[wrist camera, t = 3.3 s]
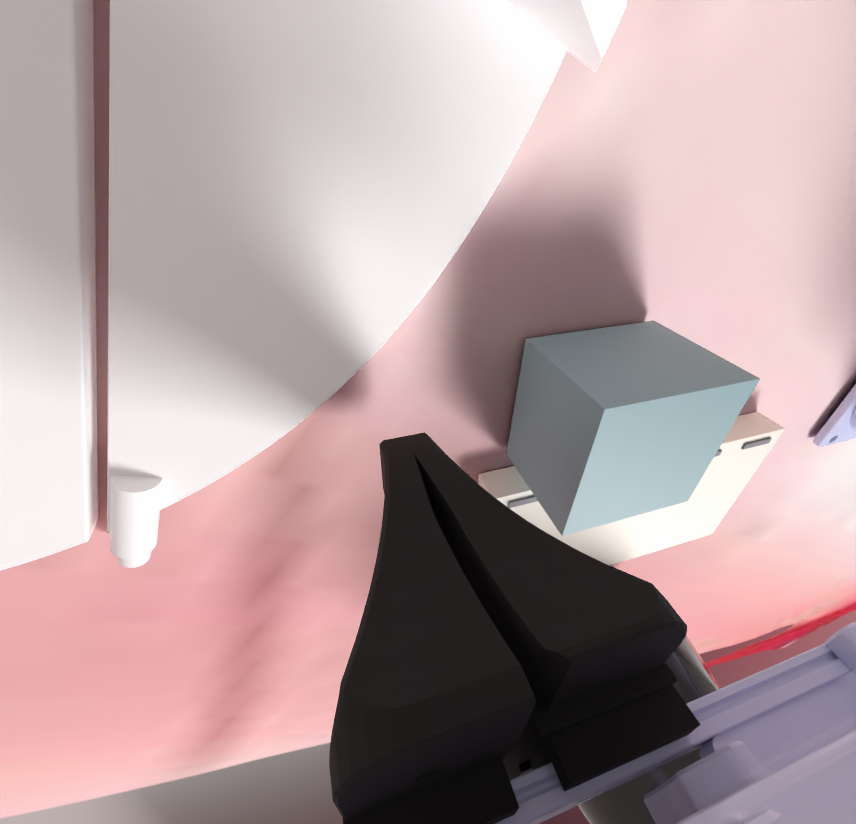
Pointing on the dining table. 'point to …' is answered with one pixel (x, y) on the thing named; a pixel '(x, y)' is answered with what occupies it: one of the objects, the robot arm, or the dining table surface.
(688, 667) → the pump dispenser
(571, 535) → the white slotted box
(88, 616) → the dining table surface
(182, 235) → the lazy susan
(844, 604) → the dining table surface
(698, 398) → the pale blue cube
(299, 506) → the dining table surface
